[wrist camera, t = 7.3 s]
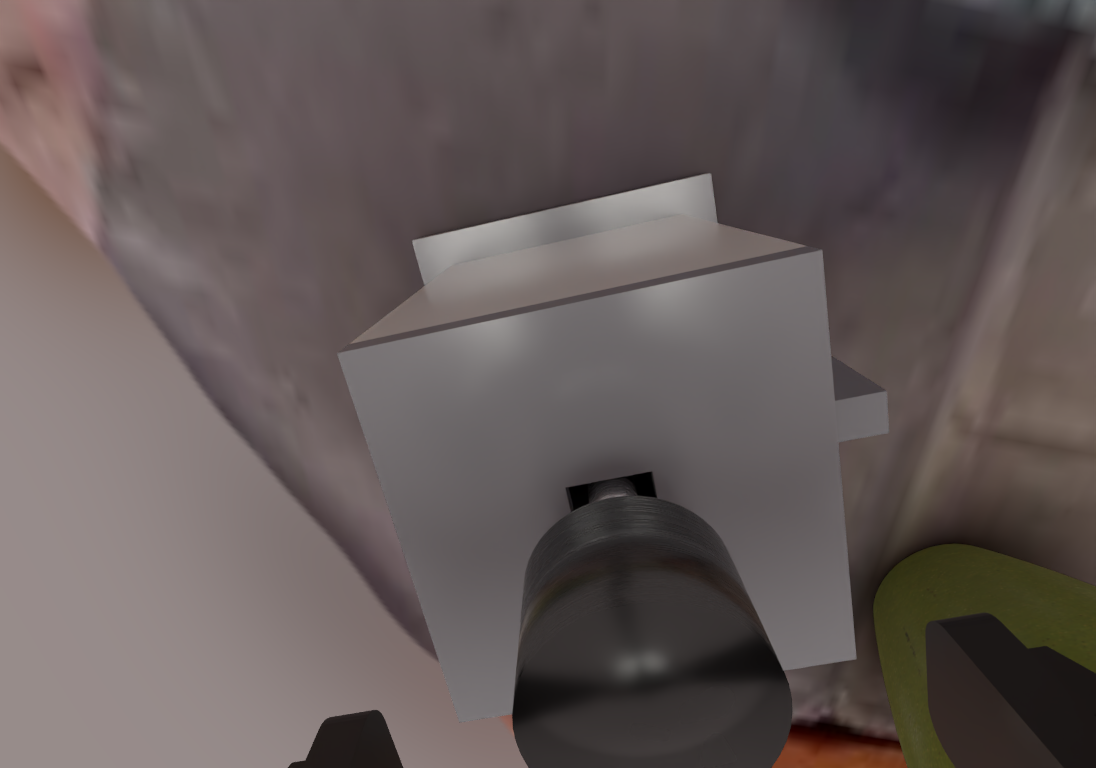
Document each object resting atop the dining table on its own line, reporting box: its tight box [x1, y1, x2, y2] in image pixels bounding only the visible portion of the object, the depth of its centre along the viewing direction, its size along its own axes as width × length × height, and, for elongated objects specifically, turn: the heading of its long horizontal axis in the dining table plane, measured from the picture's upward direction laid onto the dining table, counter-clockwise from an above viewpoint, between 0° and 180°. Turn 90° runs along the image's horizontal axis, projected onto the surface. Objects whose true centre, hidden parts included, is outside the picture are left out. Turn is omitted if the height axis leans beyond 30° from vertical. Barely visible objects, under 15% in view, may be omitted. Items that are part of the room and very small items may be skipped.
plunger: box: [512, 475, 792, 768], centre depth 18 cm, size 8×8×19 cm
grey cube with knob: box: [337, 173, 889, 722], centre depth 22 cm, size 13×14×16 cm
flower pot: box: [873, 544, 1096, 768], centre depth 26 cm, size 15×15×16 cm
